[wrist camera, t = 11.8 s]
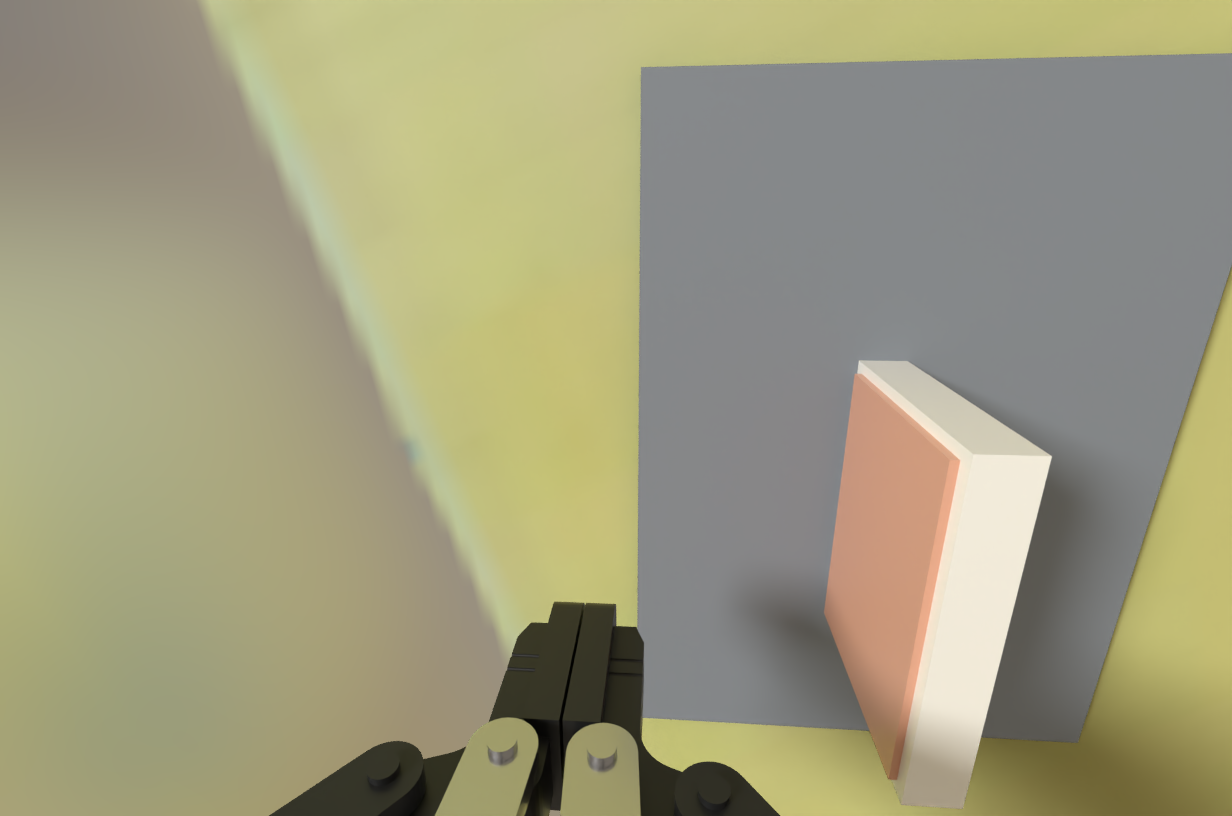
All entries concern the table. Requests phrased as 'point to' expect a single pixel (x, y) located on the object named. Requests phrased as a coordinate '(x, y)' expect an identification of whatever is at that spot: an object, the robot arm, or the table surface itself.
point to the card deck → (927, 570)
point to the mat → (911, 342)
